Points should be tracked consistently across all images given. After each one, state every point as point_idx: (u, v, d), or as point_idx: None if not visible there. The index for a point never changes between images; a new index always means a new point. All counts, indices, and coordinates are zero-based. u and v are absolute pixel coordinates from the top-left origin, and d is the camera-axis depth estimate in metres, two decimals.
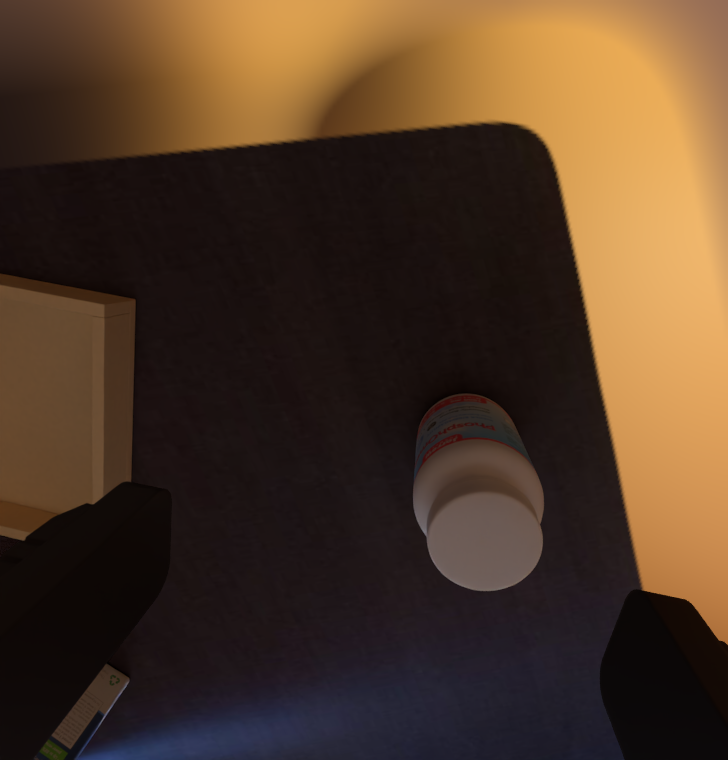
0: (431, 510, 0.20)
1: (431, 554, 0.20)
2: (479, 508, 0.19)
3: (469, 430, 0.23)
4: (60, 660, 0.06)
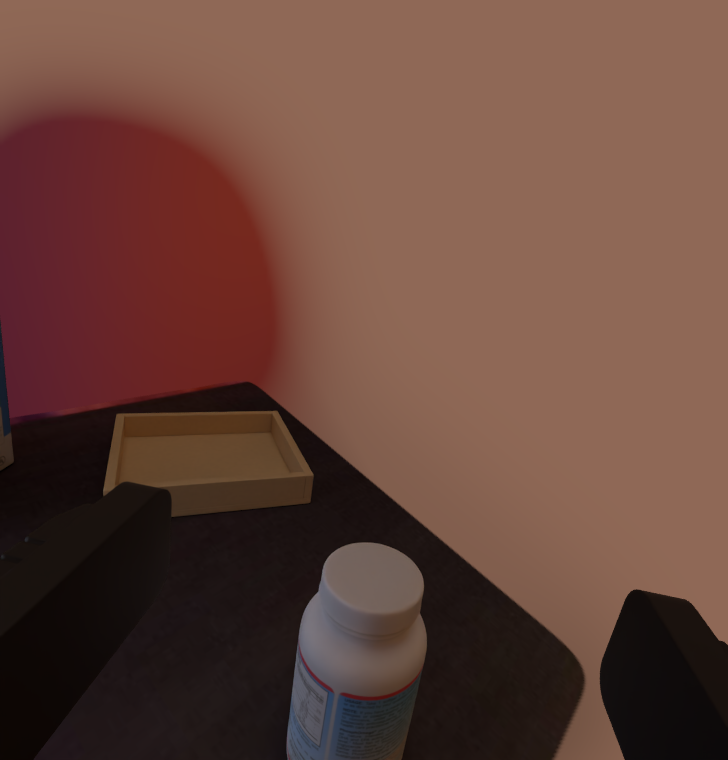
0: None
1: (337, 550, 0.23)
2: (398, 560, 0.23)
3: None
4: (60, 660, 0.06)
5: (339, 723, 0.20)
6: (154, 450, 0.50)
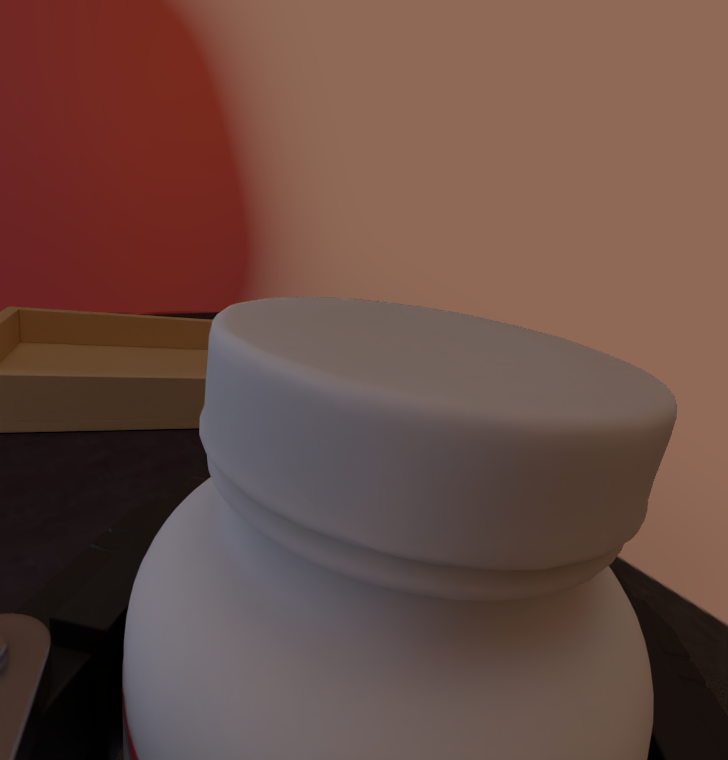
0: None
1: (295, 298, 0.06)
2: (513, 332, 0.06)
3: None
4: None
5: None
6: (58, 356, 0.34)
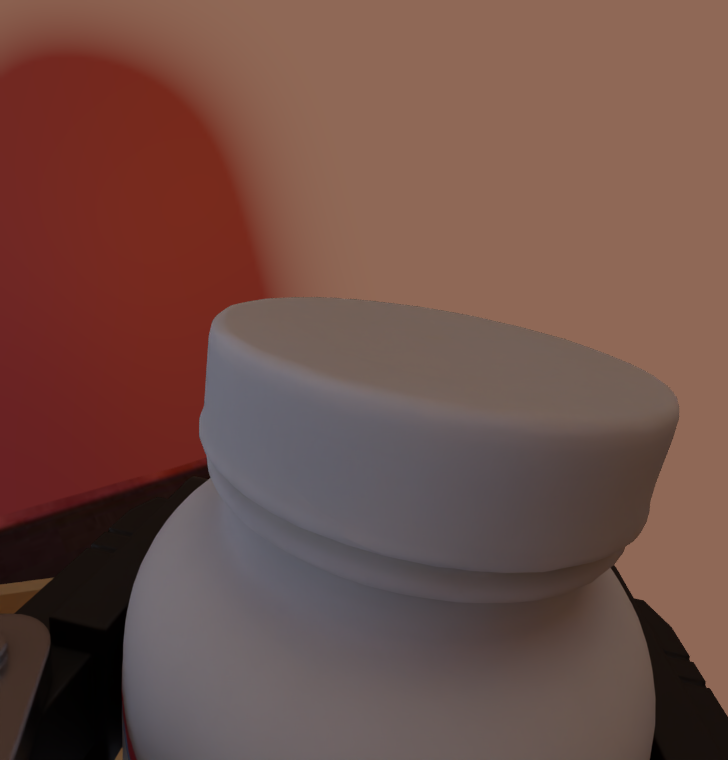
0: None
1: (295, 298, 0.06)
2: (514, 333, 0.06)
3: None
4: None
5: None
6: None
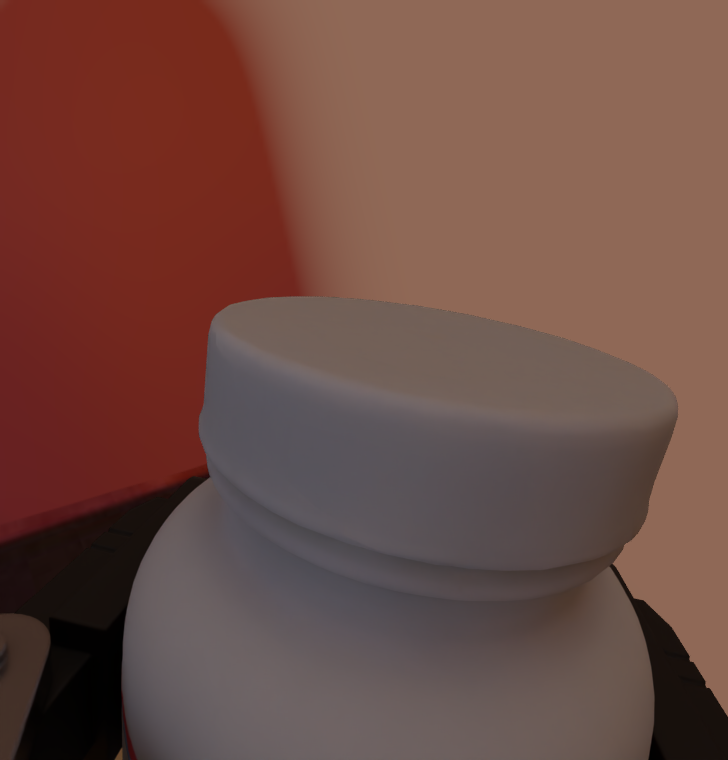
0: None
1: (295, 297, 0.06)
2: (513, 332, 0.06)
3: None
4: None
5: None
6: None
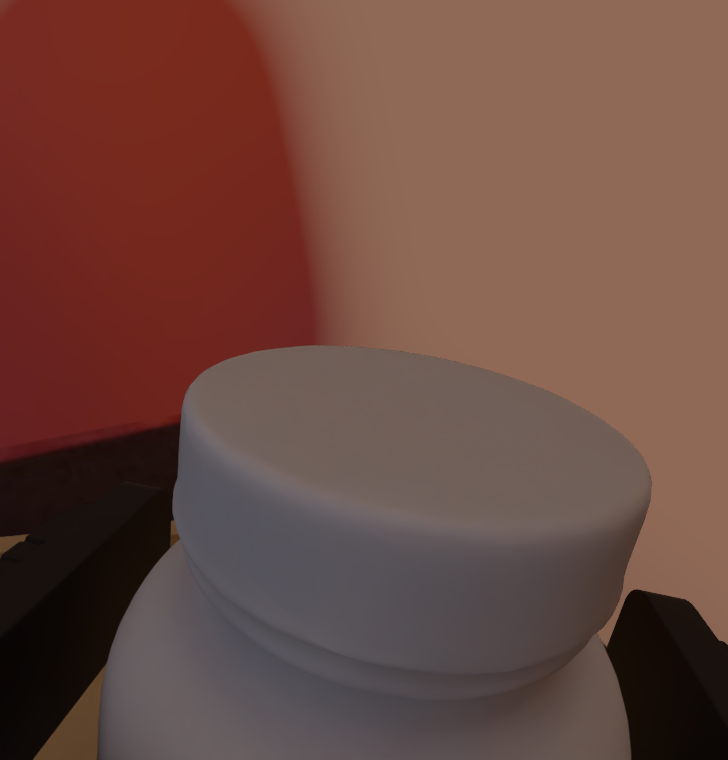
0: None
1: (276, 349, 0.06)
2: (495, 384, 0.06)
3: None
4: (60, 660, 0.06)
5: None
6: None
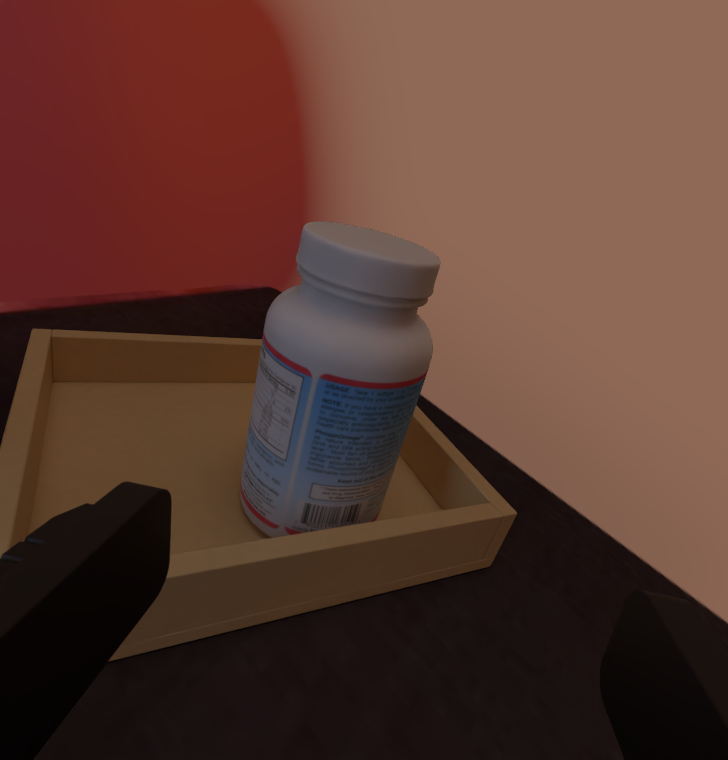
0: None
1: None
2: (404, 242, 0.17)
3: None
4: (61, 660, 0.06)
5: (315, 422, 0.15)
6: (123, 418, 0.22)
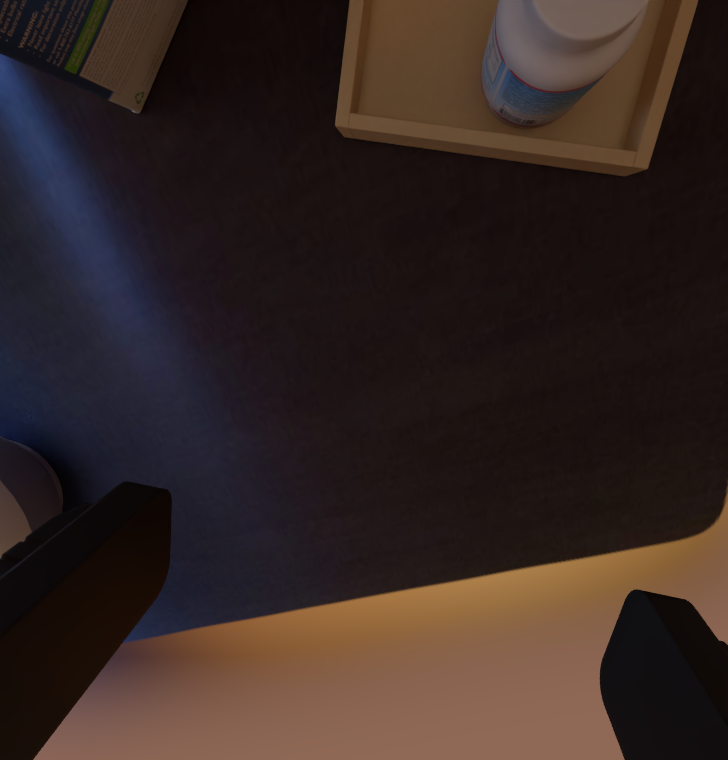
0: None
1: None
2: None
3: None
4: (61, 660, 0.06)
5: (506, 83, 0.23)
6: None
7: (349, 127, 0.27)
